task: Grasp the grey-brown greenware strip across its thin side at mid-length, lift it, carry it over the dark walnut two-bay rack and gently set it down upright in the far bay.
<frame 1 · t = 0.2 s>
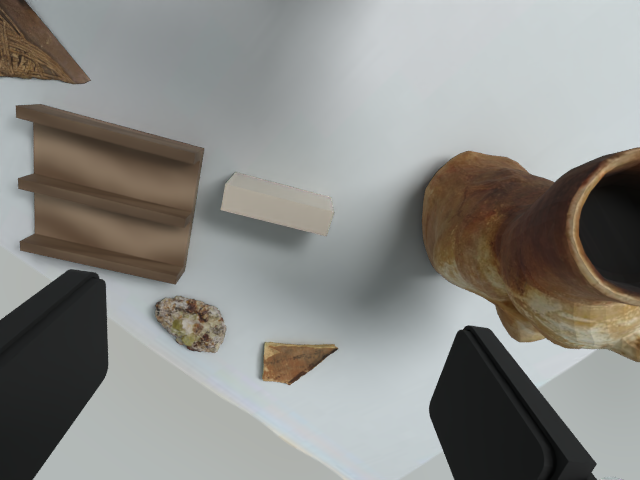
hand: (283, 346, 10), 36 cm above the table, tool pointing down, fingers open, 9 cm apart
greenware strip: (281, 196, 45), on the table
shard: (291, 349, 55), on the table
ceramic vessel: (461, 195, 46), on the table
mineral rock: (193, 317, 52), on the table
walnut rack: (119, 195, 44), on the table
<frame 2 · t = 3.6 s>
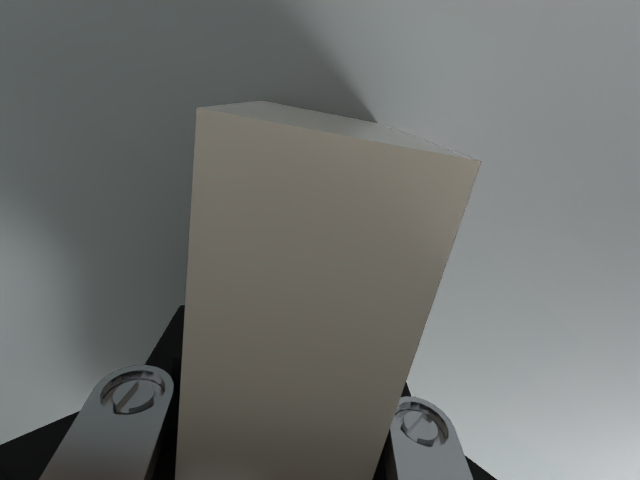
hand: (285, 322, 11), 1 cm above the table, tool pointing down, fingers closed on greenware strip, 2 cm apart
greenware strip: (285, 309, 11), on the table, touching gripper
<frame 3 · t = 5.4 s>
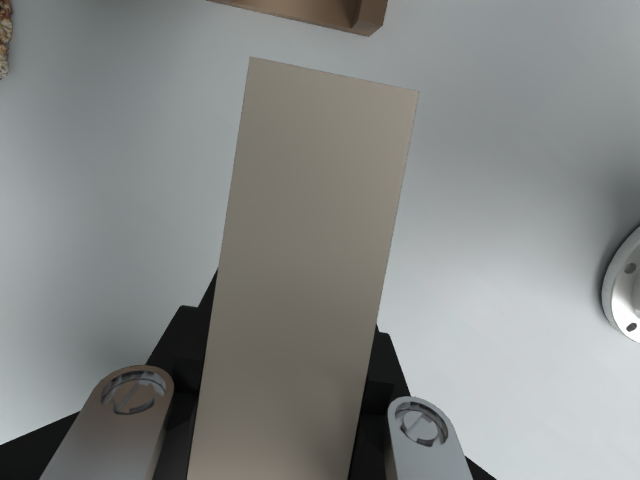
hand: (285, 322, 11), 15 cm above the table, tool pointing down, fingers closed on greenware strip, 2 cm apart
greenware strip: (285, 310, 13), point 13 cm above the table, tilted 17°, touching gripper
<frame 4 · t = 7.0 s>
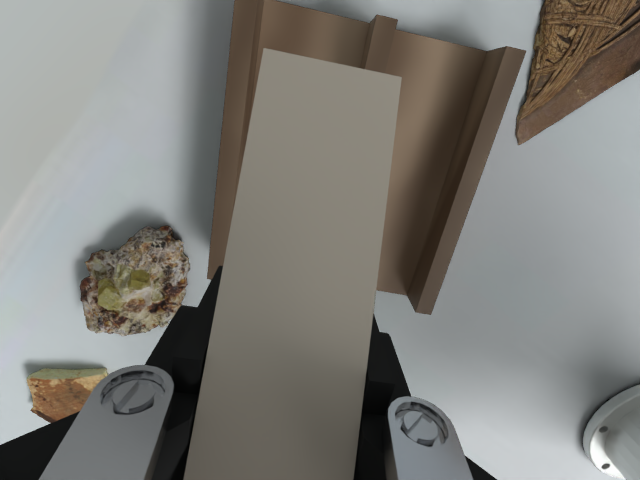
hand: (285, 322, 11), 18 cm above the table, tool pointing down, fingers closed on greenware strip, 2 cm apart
greenware strip: (283, 322, 13), point 16 cm above the table, tilted 30°, touching gripper
shard: (101, 396, 35), on the table
mineral rock: (145, 275, 30), on the table
walnut rack: (345, 166, 27), on the table
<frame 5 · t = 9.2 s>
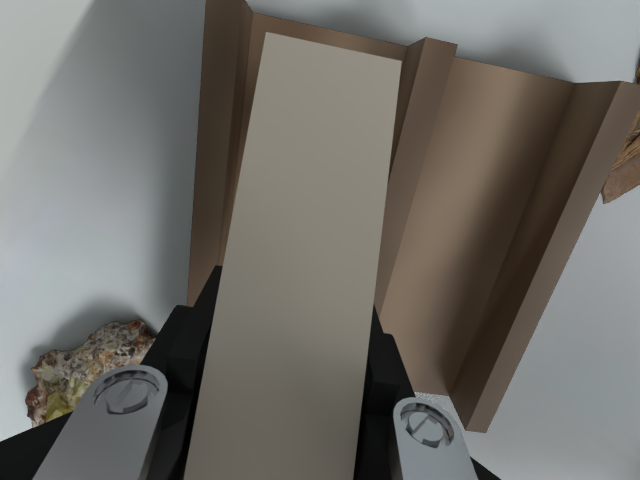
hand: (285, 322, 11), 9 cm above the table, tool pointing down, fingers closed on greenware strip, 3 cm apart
greenware strip: (284, 311, 13), point 7 cm above the table, tilted 30°, touching gripper
mineral rock: (114, 375, 23), on the table
walnut rack: (367, 235, 20), on the table
when the fingers open (4 cm above the table, at t = 10.8 s): greenware strip drops 2 cm, resting on walnut rack.
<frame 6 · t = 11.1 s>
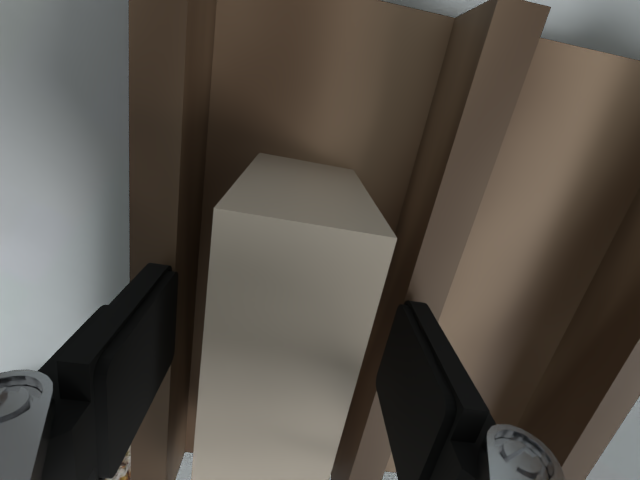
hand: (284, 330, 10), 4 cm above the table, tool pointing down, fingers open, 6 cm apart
greenware strip: (279, 320, 14), point 1 cm above the table, touching walnut rack
mineral rock: (66, 457, 18), on the table
walnut rack: (386, 282, 14), on the table
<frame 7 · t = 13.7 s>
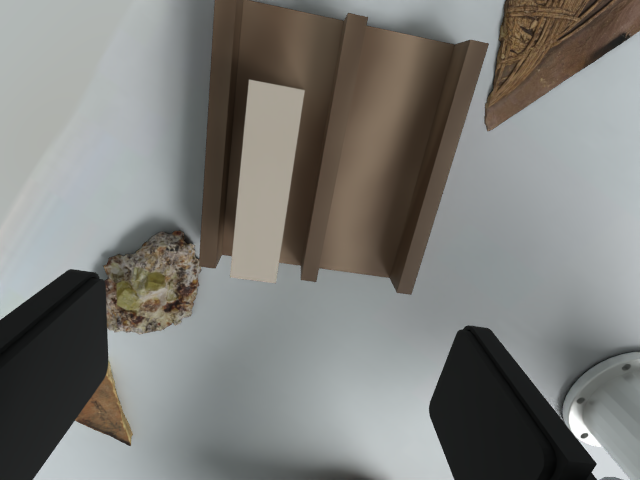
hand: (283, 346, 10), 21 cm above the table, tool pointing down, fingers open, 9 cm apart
greenware strip: (271, 172, 27), point 1 cm above the table, touching walnut rack
shard: (103, 383, 36), on the table
mineral rock: (159, 277, 32), on the table
walnut rack: (326, 156, 28), on the table
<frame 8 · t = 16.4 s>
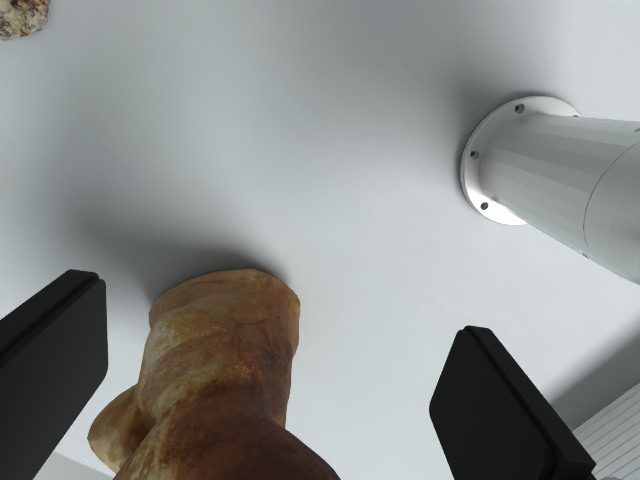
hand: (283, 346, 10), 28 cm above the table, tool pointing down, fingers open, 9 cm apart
ceramic vessel: (249, 303, 42), on the table
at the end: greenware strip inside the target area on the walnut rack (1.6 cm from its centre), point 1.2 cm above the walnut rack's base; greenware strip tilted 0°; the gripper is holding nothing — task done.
